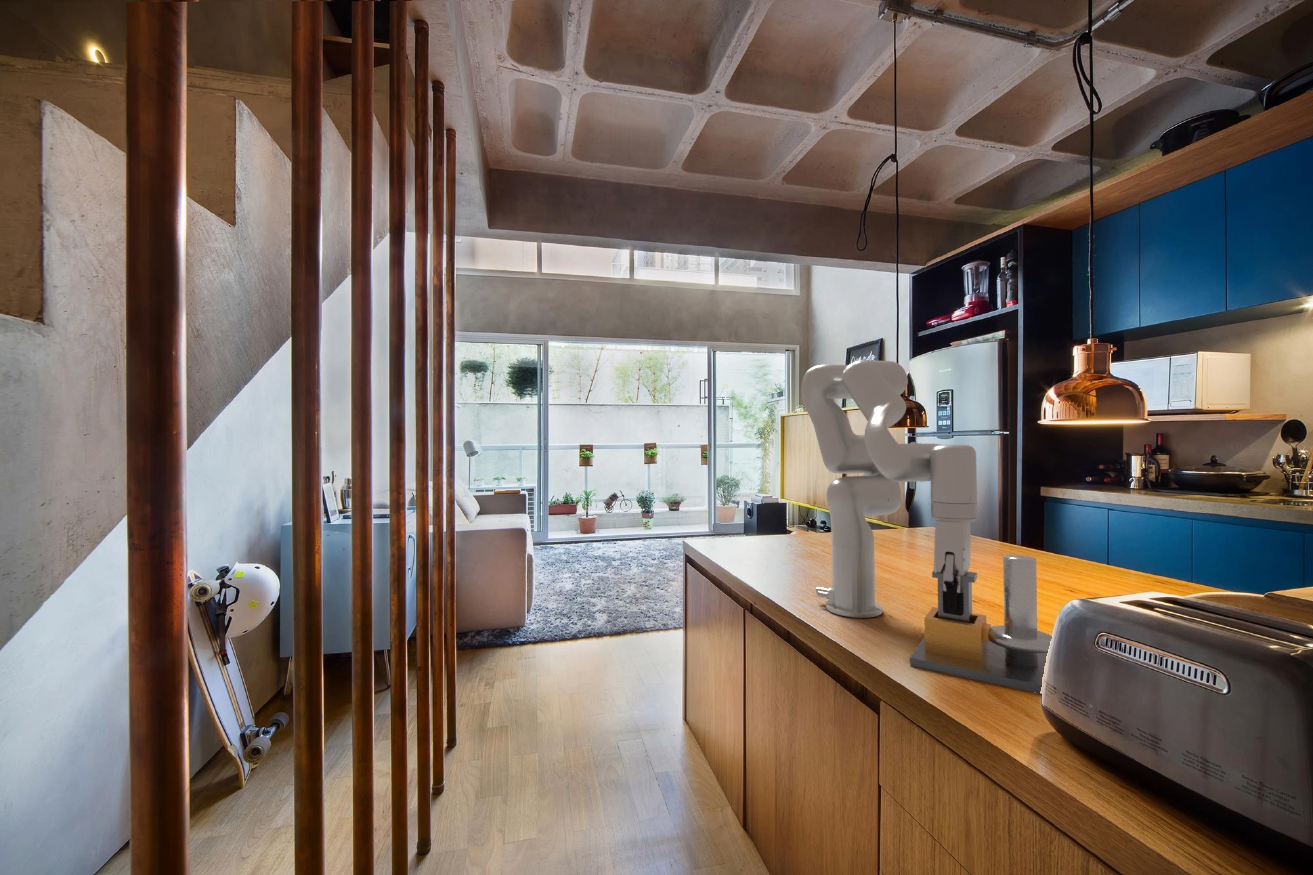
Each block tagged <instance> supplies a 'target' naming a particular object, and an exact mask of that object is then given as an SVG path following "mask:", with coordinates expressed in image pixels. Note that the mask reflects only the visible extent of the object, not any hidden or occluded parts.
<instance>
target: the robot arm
mask: <svg viewBox="0 0 1313 875" xmlns="http://www.w3.org/2000/svg"><path fill="white" fill-rule="evenodd" d="M907 386H908V375H907V372H906V370H905V368H904V367H903V366H902V365H900V364H899V363H898V362H895V361H891V360H872V359H866V360H865V359H862V360H856V361H854V362H852V363H850V364H832V363H831V364H820V365H819V364H818V365H814V366H813V367H810V368H809V369H808V370H807V371H806V372H805V374H804V376H803V377H802V381H801V398H802V402H803V405H804V408H805V410H806V413H807V414H808V416H809V418H810V420H811V422H812V425H813V428H814V432H815V437H816V439H817V443H818V447H819V451H820V454H821V457H822V462H823V463H824V466H825V468H826V469H827V471H829V472H830V473H833V474H841V475H843V474H844V475H846V474H847V475H848V474H851V475H852V474H863V475H856V476H855V475H854V476H853V475H852V476H841V477H838V478H835V479H834V480H833V481H831V483H829V485H828V487H827V488H826V503H827V507H828V512H829V518H830V528H831V531H830V532H831V534H830V535H831V565H832V566H831V568H832V569H831V575H832V576H831V577H832V579H831V581H832V582H831V583H832V587H829V588H825V587H821V586H817V587H816V589H815V594H816V595H817V597H818V598H825V599H827V601H826V602H825V608H826V610H827V611H829V612H830V613H833V614H835V615H837V616H844V617H846V618H847V617H848V618H857V619H860V618H861V619H862V618H864V619H866V618H869V619H870V618H874V617H878V616H880V615H882V614H883V606H882V605H880V603H877V602H876V574H875V570H876V569H875V568H876V567H875V565H876V564H875V563H876V562H875V561H876V560H875V536H874V533H873V529H872V528H871V526H870V524H869V523H868V521H867V519H866V517H872V516H873V517H875V516H887V515H892V514H894V513H896V512H897V511H898V510H899V508H900V507H901V504H902V497H903V496H902V489H901V486H900V483H910V482H911V483H912V482H921V483H922V482H930V518H931V519H932V520H935V525H934V526H935V529H934V545H933V546H934V549H933V550H934V551H933V571H934V572H935V573H936V574H939V573H940V572H941V571H942V570H943V569H944V570H943V612H944V613H946V614H952V615H959V616H962V615H963V593H961V577H962V576H964V575H965V574H966V573H967V572H969V570H970V568H971V556H972V554H971V553H972V552H971V549H972V548H971V546H972V543H971V542H972V541H971V538H972V537H971V523H972V522H973V523H974V522H977V521H978V500H977V499H978V498H977V497H978V495H977V494H978V492H977V491H978V490H977V489H978V486H977V483H978V482H977V481H978V480H977V479H978V478H977V452H976V450H975V448H974V447H973V446H972V445H968V444H967V445H966V444H940V443H918V442H917V443H899V442H897V441H896V439H895V438H894V436H893V435H892V434H891V432H890V430H889V428H890V427H892V426H894V425H895V424H897V423H898V422H899V421H900V420H902V418H903V417H904V415H905V414H906V410H907V405H906V401H905V400H904V399H903V397H902V396H901V395H902V394H903V393H904V392H905V391H906V388H907ZM834 399H840V400H841V399H843V400H844V399H845V400H850V399H852V400H853V402H854V403H855V404H856V406H857V408H858V409H859V410H860V412H861V414H862V415H863V417H864V418H865V419H866V421H867V423H866V426H865V429H864V434H856V433H855V432H854V431H853V429H852V427H851V424H850V420H849V419H850V418H849V417H848V415H847V414H846V413H845V411H844V410H843V409H842V407H841V406H840V405H838V404H837V403H836V402H835V401H834ZM954 572H958V575H954ZM954 579H957V582H956V580H954Z"/></svg>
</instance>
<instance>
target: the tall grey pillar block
mask: <svg viewBox="0 0 1313 875" xmlns="http://www.w3.org/2000/svg"><path fill="white" fill-rule="evenodd" d="M943 570H944V569H943ZM943 570H942V571H941V572H940V573H939V574H936V573H935V572H934V570H933V571H932V572H931V577H932V578H933V579H934V578H935V579H937V608H938V618H940V619H946V620H952V621H958V622H964V623H970V624H972V613H973V587H972V586H973V583H975V582H976V581H977V579H978V572H976V571H975V572H974V571H973V572H972V571H967V573H966V574H965V575H964V576H962V577H961V593H963V615H962V616H959V615H952V614H946V613H944V612H943ZM954 575H958V572H954ZM954 580H956V582H957V579H954Z"/></svg>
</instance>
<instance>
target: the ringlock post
mask: <svg viewBox="0 0 1313 875" xmlns="http://www.w3.org/2000/svg"><path fill="white" fill-rule="evenodd" d="M1002 566H1003V567H1002V569H1003V570H1002V571H1003V572H1002V573H1003V574H1002V575H1003V576H1002V577H1003V578H1002V580H1003V583H1002V584H1003V619H1004V620H1003V624H1004V625H993V626H991V623H987V615H986V614H981V613H973V612H972V624H970V623H964V622H958V621H952V620H946V619H940V618H938V607H934V606H933V607H931V609H930V610H929V611H928V613H927V614H926V615H925V617H924V637H923V638H922V640H921V641H920V643H919V644H918V645H917V647H916V648H915V649H914V651H913V652H912V654H911V655H910V657H909V667H913V668H917V669H922V670H927V671H930V672H931V671H932V672H936V673H940V674H943V675H944V674H946V675H950V676H953V677H959V678H963V679H968V680H972V681H977V682H982V683H987V684H991V685H996V686H999V687H1004V688H1010V689H1013V690H1018V691H1024V692H1026V693H1027V692H1028V693H1032V692H1036V693H1038V695H1041V694H1040V691H1041V687H1042V677H1043V674H1044V666H1045V663H1046V656H1047V653H1048V649H1049V646H1050V641H1051V639H1052V636H1053V635H1051V634H1048V633H1047V632H1044V631H1040V630H1038V596H1037V595H1038V593H1037V592H1038V589H1037V588H1038V587H1037V583H1038V582H1037V558H1035V557H1033V556H1028V555H1022V554H1018V555H1017V554H1004V555H1002ZM1036 693H1035V694H1036Z"/></svg>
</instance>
